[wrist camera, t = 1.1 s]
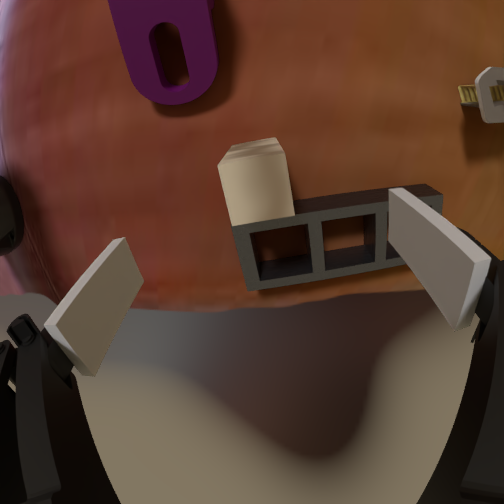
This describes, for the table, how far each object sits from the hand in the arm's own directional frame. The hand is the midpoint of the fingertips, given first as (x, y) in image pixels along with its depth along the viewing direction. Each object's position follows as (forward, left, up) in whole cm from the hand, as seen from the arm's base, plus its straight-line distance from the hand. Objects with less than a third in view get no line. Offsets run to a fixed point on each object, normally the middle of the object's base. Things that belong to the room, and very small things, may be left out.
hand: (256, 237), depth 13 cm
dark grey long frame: (+9, -10, -21) cm, 25 cm away
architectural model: (+33, +8, -21) cm, 40 cm away
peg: (0, 0, -21) cm, 21 cm away
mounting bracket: (-6, +18, -21) cm, 28 cm away
